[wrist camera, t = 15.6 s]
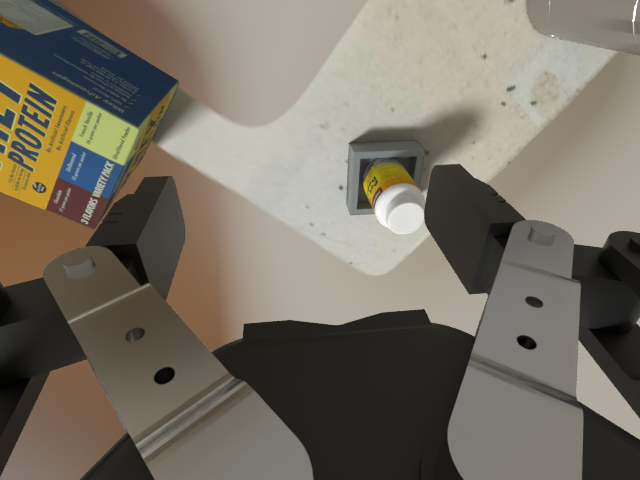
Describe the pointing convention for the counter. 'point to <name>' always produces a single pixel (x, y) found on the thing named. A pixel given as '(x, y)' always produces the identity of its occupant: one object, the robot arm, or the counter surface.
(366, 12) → the counter surface
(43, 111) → the protein box
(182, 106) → the counter surface
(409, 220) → the supplement bottle
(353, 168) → the bin
